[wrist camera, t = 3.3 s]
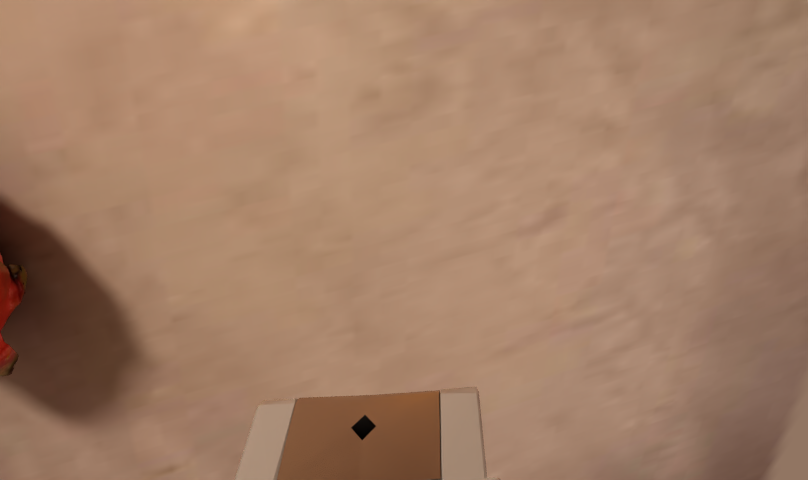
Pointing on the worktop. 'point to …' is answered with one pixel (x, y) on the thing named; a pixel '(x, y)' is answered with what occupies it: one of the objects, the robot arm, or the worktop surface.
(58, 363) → the worktop surface
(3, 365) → the dragon fruit
